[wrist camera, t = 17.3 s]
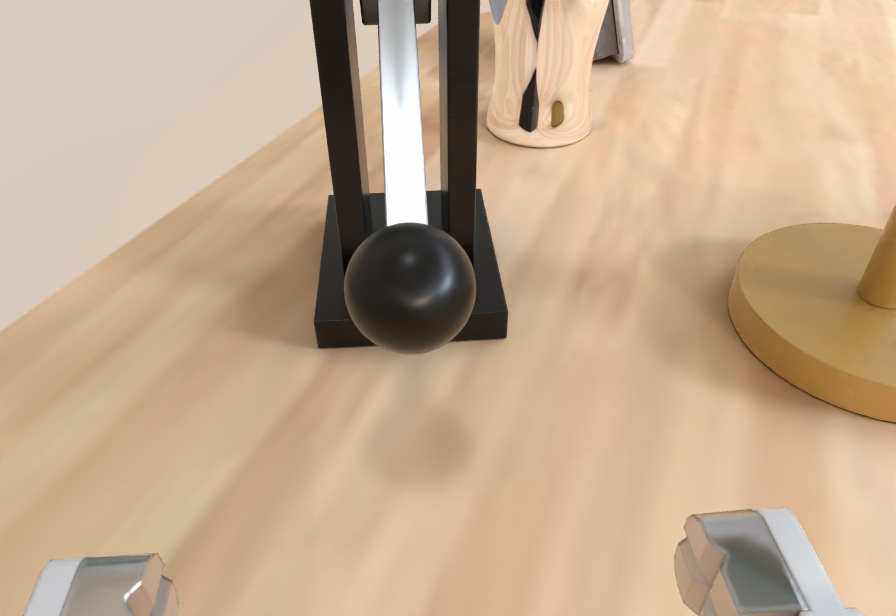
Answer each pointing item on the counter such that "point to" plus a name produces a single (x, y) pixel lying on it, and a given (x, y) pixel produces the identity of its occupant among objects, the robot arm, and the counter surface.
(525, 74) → the beer glass
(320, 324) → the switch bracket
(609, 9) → the electrical switch
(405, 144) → the switch lever
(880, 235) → the desk lamp
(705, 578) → the robot arm
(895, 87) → the counter surface
